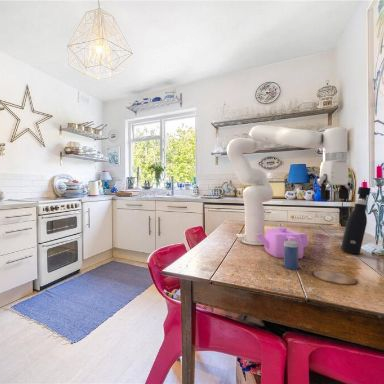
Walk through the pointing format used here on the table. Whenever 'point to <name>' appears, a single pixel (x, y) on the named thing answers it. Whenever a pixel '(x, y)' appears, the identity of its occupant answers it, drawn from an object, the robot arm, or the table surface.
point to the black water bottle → (356, 224)
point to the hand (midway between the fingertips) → (334, 199)
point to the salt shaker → (291, 254)
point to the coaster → (334, 277)
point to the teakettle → (282, 241)
